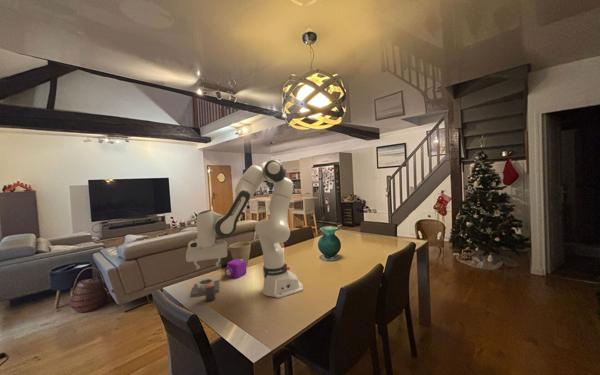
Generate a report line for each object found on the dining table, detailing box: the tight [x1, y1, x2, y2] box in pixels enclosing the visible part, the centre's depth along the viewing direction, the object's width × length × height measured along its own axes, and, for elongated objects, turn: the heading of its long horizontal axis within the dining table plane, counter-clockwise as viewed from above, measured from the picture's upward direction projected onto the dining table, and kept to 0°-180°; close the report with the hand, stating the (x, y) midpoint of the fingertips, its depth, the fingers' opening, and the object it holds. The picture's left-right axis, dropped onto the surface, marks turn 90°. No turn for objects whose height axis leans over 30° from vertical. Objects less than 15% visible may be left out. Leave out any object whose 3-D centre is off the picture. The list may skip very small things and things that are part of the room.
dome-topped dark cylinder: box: [204, 283, 216, 303], centre depth 128 cm, size 5×5×8 cm
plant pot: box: [229, 241, 252, 267], centre depth 176 cm, size 15×15×16 cm
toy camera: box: [224, 259, 247, 279], centre depth 158 cm, size 11×14×10 cm
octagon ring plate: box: [191, 278, 220, 298], centre depth 141 cm, size 14×14×4 cm
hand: (207, 267), depth 128 cm, fingers open, 8 cm apart
